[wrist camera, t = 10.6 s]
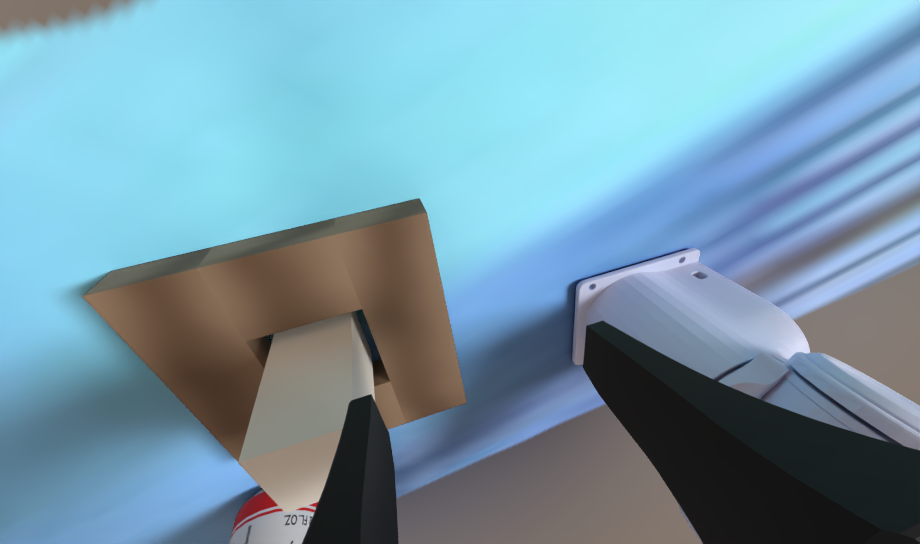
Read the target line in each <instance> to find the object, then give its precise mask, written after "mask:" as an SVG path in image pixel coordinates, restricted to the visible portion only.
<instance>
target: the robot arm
mask: <svg viewBox="0 0 920 544" xmlns="http://www.w3.org/2000/svg"><path fill="white" fill-rule="evenodd" d="M699 256H700V251H699V250H697V249H695V248H691V249H687V250H684V251H681V252H677V253H674V254H671V255H667V256H664V257H660V258H657V259H654V260H650V261H647V262H643V263H640V264H637V265H633V266H630V267H626V268H623V269H620V270H616V271H613V272H609V273H606V274H603V275H599V276H596V277H593V278H589V279H586V280H583V281H581V282H579V283H578V285H577V287H576V299H575V318H574V336H573V354H572V361H573V363H574V364H575V365H582V364H583V368H584V370H585V372H586V374H587V375H588V377H589V379H590V380H591V382H592V384H593V385H594V387H595V389H596V390H597V392H598V393H599V395H600V396H601V398H602V399H603V400H604V402H605V403H606V404H607V405H608V407H609V408H610V409H611V411H612V412H613V413H614V415H615V416H616V417H617V418H618V419H619V421H620V422H621V423H622V425H623V426H624V427H625V429H626V430H627V431H628V432H629V434H630V435H631V436H632V438H633V439H634V440H635V441H636V443H637V444H638V445H639V447H640V448H641V449H642V450H643V452H644V453H645V454H646V456H647V457H648V458H649V460H650V461H651V462H652V464H653V465H654V466H655V468H656V469H657V471H658V472H659V474H660V475H661V477H662V478H663V480H664V481H665V483H666V485H667V486H668V488H669V489H670V491H671V492H672V494H673V496H674V497H675V499H676V500H677V502H678V505H679V508H680V510H681V512H682V514H683V516H684V518H685V519H686V521H687V523H688V524H689V526H690V528H691V529H692V531H693V532H694V533H695V535H696V536H697V538H698V539H699V540H700V542H701V543H702V544H920V406H919V405H917V404H915V403H914V402H912V401H910V400H909V399H907V398H905V397H904V396H902V395H900V394H898V393H897V392H895V391H893V390H892V389H890V388H888V387H886V386H885V385H883V384H881V383H879V382H878V381H876V380H874V379H872V378H871V377H868V376H867V375H865V374H863V373H862V372H860V371H858V370H856V369H854V368H852V367H850V366H849V365H847V364H845V363H843V362H841V361H839V360H837V359H835V358H833V357H831V356H828V355H826V354H823V353H810V350H809V345H808V342H807V340H806V338H805V336H804V334H803V333H802V331H801V330H800V328H799V327H798V326H797V324H796V323H795V322H794V321H793V320H792V319H791V318H790V317H789V316H788V315H787V314H786V313H785V312H783V311H782V310H781V309H780V308H778V307H777V306H775V305H773V304H772V303H770V302H768V301H766V300H765V299H763V298H761V297H759V296H758V295H756V294H754V293H752V292H750V291H749V290H747V289H745V288H743V287H742V286H740V285H738V284H736V283H735V282H733V281H731V280H729V279H727V278H726V277H724V276H722V275H720V274H719V273H717V272H715V271H713V270H711V269H710V268H708V267H706V266H704V265H703V264H701V263H699V262H698V260H699ZM591 284H592V285H591ZM590 285H591V286H590ZM589 286H590V287H589ZM302 544H398V528H397V509H396V489H395V472H394V462H393V456H392V449H391V443H390V437H389V432H388V430H387V428H386V425H385V423H384V421H383V419H382V416H381V414H380V412H379V410H378V408H377V405H376V403H375V401H374V399H373V396H372V394H370V395H367V396H363V397H360V398H357V399H354V400H351V401H350V403H349V405H348V409H347V414H346V418H345V422H344V426H343V429H342V433H341V436H340V440H339V443H338V447H337V450H336V453H335V456H334V459H333V462H332V465H331V468H330V471H329V474H328V477H327V480H326V483H325V486H324V489H323V491H322V494H321V497H320V499H319V502H318V504H317V507H316V510H315V512H314V515H313V518H312V520H311V523H310V525H309V528H308V530H307V532H306V535H305V537H304V540H303V542H302Z"/></svg>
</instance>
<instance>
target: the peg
mask: <svg viewBox="0 0 920 544" xmlns="http://www.w3.org/2000/svg"><path fill="white" fill-rule="evenodd" d="M370 394H372V396H373V399H374V401H375V393H374V380H373V366H372V353H371V349H370V347H369V344H368V342H367V339H366V337H365V334H364V332H363V329H362V327H361V324H360V322H359V319H358V317H357V314H356V312H355V311H353V312H350V313H346V314H343V315H339V316H335V317H332V318H328V319H325V320H321V321H317V322H314V323H310V324H307V325H303V326H300V327H296V328H292V329H289V330H285V331H282V332H278V333H274V336H273V340H272V344H271V347H270V351H269V354H268V358H267V361H266V365H265V369H264V372H263V376H262V379H261V383H260V386H259V390H258V394H257V397H256V401H255V404H254V408H253V412H252V415H251V419H250V422H249V426H248V429H247V433H246V437H245V440H244V444H243V447H242V451H241V454H240V458H239V462H238V463H239V464H240V465H241V466H242V467H243V469H244V470H245V471H246V472H247V473H248V474H249V475H250V476H251V477H252V478H253V479H254V480H255V481H256V482H257V483H258V484H259V486H260V487H261V488H262V489H263V490H264V491H265V492H266V493H267V494H268V495H269V496H270V497H271V498H272V499H273V500H274V501H275V503H276V504H277V505H278V506H279V507H280V508H281V509H282V510H283V511H284V512H285V513H288V512H291V511H294V510H296V509H299V508H302V507H305V506H308V505H311V504H313V503H316V502H319V499H320V497H321V494H322V491H323V489H324V486H325V483H326V480H327V477H328V474H329V471H330V468H331V465H332V462H333V459H334V456H335V453H336V450H337V447H338V443H339V440H340V436H341V433H342V429H343V426H344V422H345V418H346V414H347V409H348V405H349V403H350V401H351V400H354V399H357V398H360V397H363V396H367V395H370Z"/></svg>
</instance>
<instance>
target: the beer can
mask: <svg viewBox="0 0 920 544" xmlns="http://www.w3.org/2000/svg"><path fill="white" fill-rule="evenodd" d="M317 504H318V502H316V503H313V504H311V505H308V506H305V507H302V508H299V509H296V510H294V511H291V512H288V513H285V512H284V511H283V510H282V509H281V508H280V507H279V506H278V505H277V504H276V503H275V501H274V500H273V499H272V498H271V497H270V496H269V495H268V494H267V493H266V492H265V491H264V490H263V489H261V490H260V491H259V492H257V493H256V494H255V495H254V496H253V497H251V498H250V499H249V500H248V501H247V502H245V503H244V504H243V506H242V508H241V509H240V511H239V513H238V514H237V516H236V519H235V523H234V527H233V531H232V535H231V539H230V543H229V544H302V542H303V540H304V537H305V535H306V532H307V530H308V528H309V525H310V523H311V520H312V518H313V515H314V512H315V510H316V507H317Z"/></svg>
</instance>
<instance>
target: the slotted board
mask: <svg viewBox="0 0 920 544" xmlns="http://www.w3.org/2000/svg"><path fill="white" fill-rule="evenodd" d="M82 297H83V298H84V299H85V300H86V301H87V302H88V303H89V304H90V305H91V306H92V307H93V308H94V309H95V310H96V311H97V313H98V314H99V315H100V316H101V317H102V318H103V319H104V320H105V321H106V322H107V323H108V324H109V325H110V326H111V327H112V328H113V330H114V331H115V332H116V333H117V334H118V335H119V336H120V337H121V338H122V339H123V340H124V341H125V342H126V343H127V344H128V345H129V347H130V348H131V349H132V350H133V351H134V352H135V353H136V354H137V355H138V356H139V357H140V358H141V359H142V360H143V361H144V362H145V363H146V365H147V366H148V367H149V368H150V369H151V370H152V371H153V372H154V373H155V374H156V375H157V376H158V377H159V378H160V379H161V380H162V382H163V383H164V384H165V385H166V386H167V387H168V388H169V389H170V390H171V391H172V392H173V393H174V394H175V395H176V396H177V397H178V398H179V400H180V401H181V402H182V403H183V404H184V405H185V406H186V407H187V408H188V409H189V410H190V411H191V412H192V413H193V414H194V415H195V417H196V418H197V419H198V420H199V421H200V422H201V423H202V424H203V425H204V426H205V427H206V428H207V429H208V430H209V431H210V432H211V433H212V435H213V436H214V437H215V438H216V439H217V440H218V441H219V442H220V443H221V444H222V445H223V446H224V447H225V448H226V449H227V450H228V452H229V453H230V454H231V455H232V456H233V457H234V458H235V459H236V460H237V461H238V462H239V458H240V454H241V451H242V447H243V444H244V440H245V437H246V433H247V429H248V426H249V422H250V419H251V415H252V412H253V408H254V404H255V401H256V397H257V394H258V390H259V386H260V383H261V379H262V376H263V372H264V369H265V365H266V361H267V358H268V354H269V351H270V347H271V344H272V343H271V341H270V340H269V338H268V336H267V335H271V334H274V333H278V332H282V331H285V330H289V329H292V328H296V327H300V326H303V325H307V324H310V323H314V322H317V321H321V320H325V319H328V318H332V317H335V316H339V315H343V314H346V313H350V312H353V311H357V310H361V309H362V310H363V313H364V315H365V318H366V320H367V323H368V325H369V328H370V331H371V333H372V336H373V338H374V341H375V344H376V346H377V349H378V351H379V354H380V356H381V360H378V361H375V362H372V366H373V380H374V393H375V403H376V405H377V408H378V410H379V412H380V414H381V416H382V419H383V421H384V423H385V425H386V428H387V429H390V428H393V427H396V426H399V425H402V424H405V423H408V422H411V421H414V420H417V419H420V418H423V417H426V416H429V415H432V414H435V413H438V412H441V411H444V410H447V409H450V408H453V407H456V406H459V405H462V404H465V403H467V401H466V397H465V392H464V387H463V382H462V378H461V373H460V368H459V363H458V359H457V354H456V349H455V344H454V340H453V335H452V330H451V325H450V320H449V316H448V311H447V306H446V301H445V297H444V292H443V287H442V282H441V278H440V273H439V268H438V263H437V259H436V254H435V249H434V244H433V240H432V235H431V230H430V225H429V221H428V216H427V212H426V210H425V208H424V206H423V204H422V202H421V201H420V199H415V200H410V201H406V202H402V203H398V204H393V205H389V206H385V207H381V208H376V209H372V210H368V211H364V212H360V213H355V214H351V215H347V216H343V217H338V218H334V219H330V220H326V221H321V222H317V223H313V224H309V225H304V226H300V227H296V228H292V229H288V230H283V231H279V232H275V233H271V234H266V235H262V236H258V237H254V238H249V239H245V240H241V241H237V242H232V243H228V244H224V245H220V246H215V247H211V248H207V249H203V250H199V251H194V252H190V253H186V254H182V255H177V256H173V257H169V258H165V259H160V260H156V261H152V262H148V263H143V264H139V265H135V266H131V267H127V268H122V269H118V270H114V271H111V272H110V273H109V274H107V275H106V276H105V277H104V278H103V279H102V280H100V281H99V282H98V283H97V284H96V285H95V286H94V287H92V288H91V289H90V290H89V291H88V292H87V293H85V294H84V295H83V296H82Z"/></svg>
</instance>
